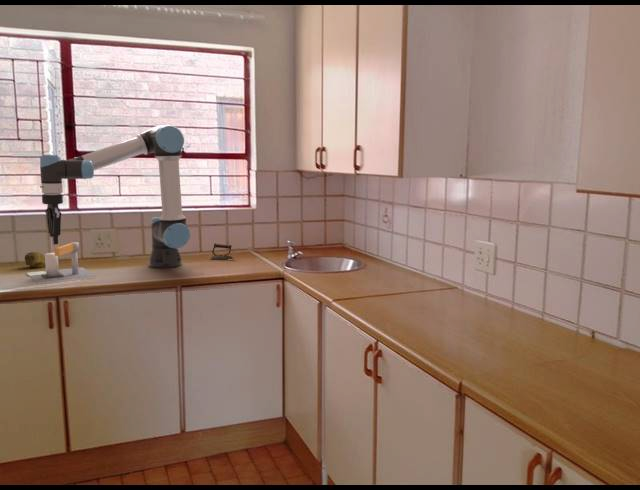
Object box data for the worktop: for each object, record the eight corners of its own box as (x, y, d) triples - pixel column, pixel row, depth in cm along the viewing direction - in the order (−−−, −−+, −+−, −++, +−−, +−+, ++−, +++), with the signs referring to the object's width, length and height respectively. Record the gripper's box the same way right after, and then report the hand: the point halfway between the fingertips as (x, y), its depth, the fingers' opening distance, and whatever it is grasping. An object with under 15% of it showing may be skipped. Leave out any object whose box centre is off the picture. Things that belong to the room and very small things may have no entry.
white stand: (82, 269, 253) (81, 245, 252) (95, 278, 237) (94, 252, 235) (26, 275, 240) (24, 250, 238) (36, 285, 223) (34, 258, 221)
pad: (44, 271, 242) (44, 270, 242) (48, 274, 237) (47, 273, 237) (26, 273, 238) (26, 272, 238) (29, 276, 233) (29, 275, 233)
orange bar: (71, 248, 240) (71, 242, 240) (80, 249, 240) (80, 242, 240) (52, 255, 224) (51, 248, 224) (61, 256, 224) (61, 248, 224)
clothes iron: (212, 258, 286) (217, 240, 285) (233, 264, 285) (238, 246, 284) (208, 260, 279) (213, 240, 278) (230, 266, 278) (235, 247, 277)
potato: (58, 268, 254) (57, 251, 253) (27, 272, 246) (26, 254, 245) (53, 265, 261) (52, 248, 259) (23, 268, 253) (21, 251, 251)
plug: (57, 273, 238) (56, 252, 236) (60, 275, 234) (58, 254, 232) (45, 274, 235) (43, 253, 233) (47, 276, 231) (46, 255, 230)
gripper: (37, 192, 226) (40, 250, 230) (46, 195, 216) (50, 255, 220) (57, 192, 231) (60, 248, 235) (67, 194, 221) (70, 253, 225)
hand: (55, 251), depth 227 cm, fingers closed
